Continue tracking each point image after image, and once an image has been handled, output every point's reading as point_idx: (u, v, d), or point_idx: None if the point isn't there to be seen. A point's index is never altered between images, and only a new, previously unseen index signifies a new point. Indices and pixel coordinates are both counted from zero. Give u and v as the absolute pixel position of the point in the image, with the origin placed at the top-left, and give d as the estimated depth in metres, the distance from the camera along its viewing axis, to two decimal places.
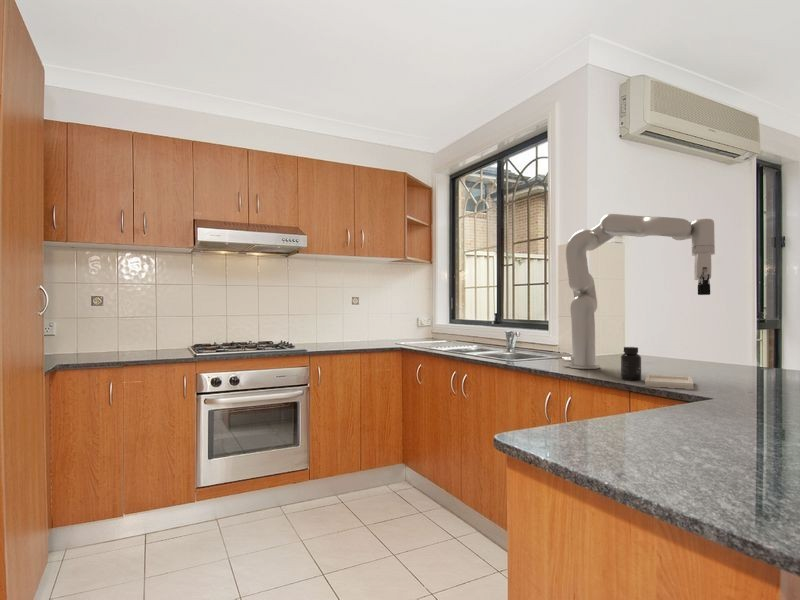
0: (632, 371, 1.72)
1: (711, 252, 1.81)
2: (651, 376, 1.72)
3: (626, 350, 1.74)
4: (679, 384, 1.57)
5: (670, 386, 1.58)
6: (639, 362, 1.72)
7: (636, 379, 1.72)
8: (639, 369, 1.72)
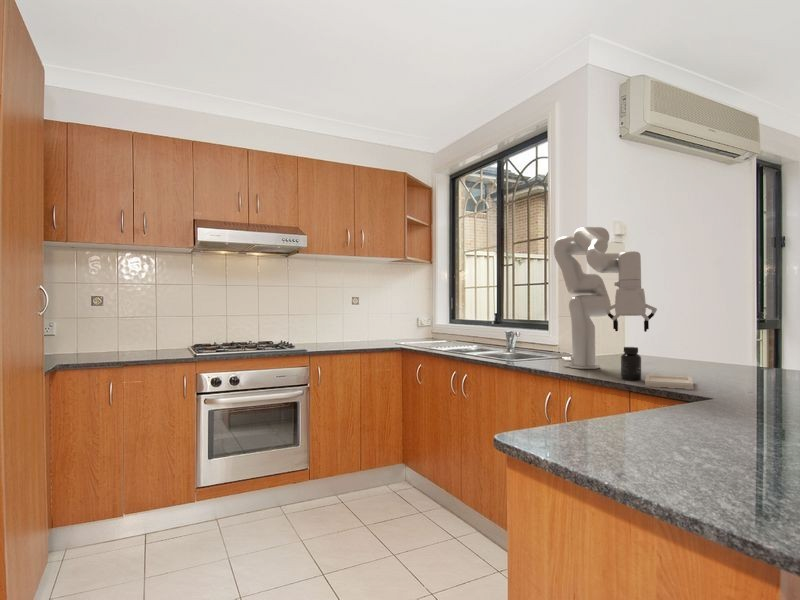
0: (632, 371, 1.72)
1: None
2: (651, 376, 1.72)
3: (626, 350, 1.74)
4: (679, 384, 1.57)
5: (670, 386, 1.58)
6: (639, 362, 1.72)
7: (636, 379, 1.72)
8: (639, 369, 1.72)
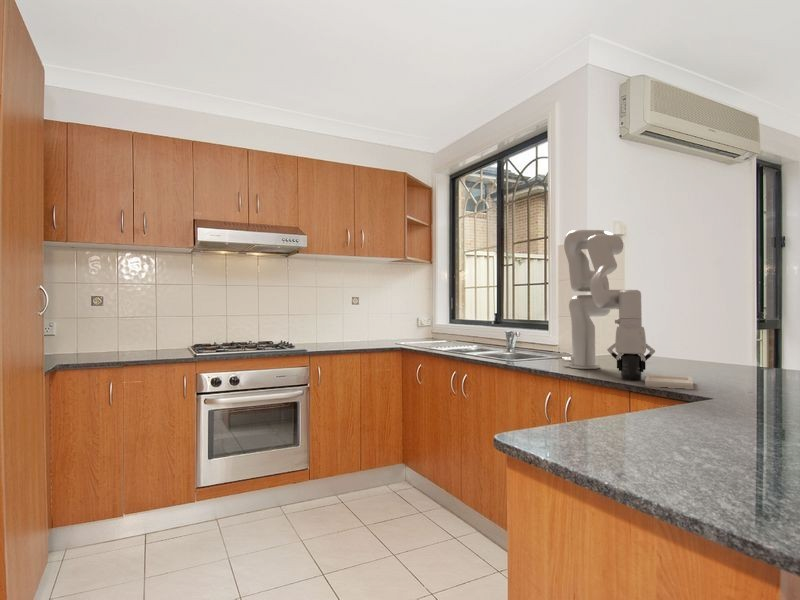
0: (632, 371, 1.72)
1: None
2: (651, 376, 1.72)
3: None
4: (679, 384, 1.57)
5: (670, 386, 1.58)
6: (639, 362, 1.72)
7: (636, 379, 1.72)
8: (639, 369, 1.72)
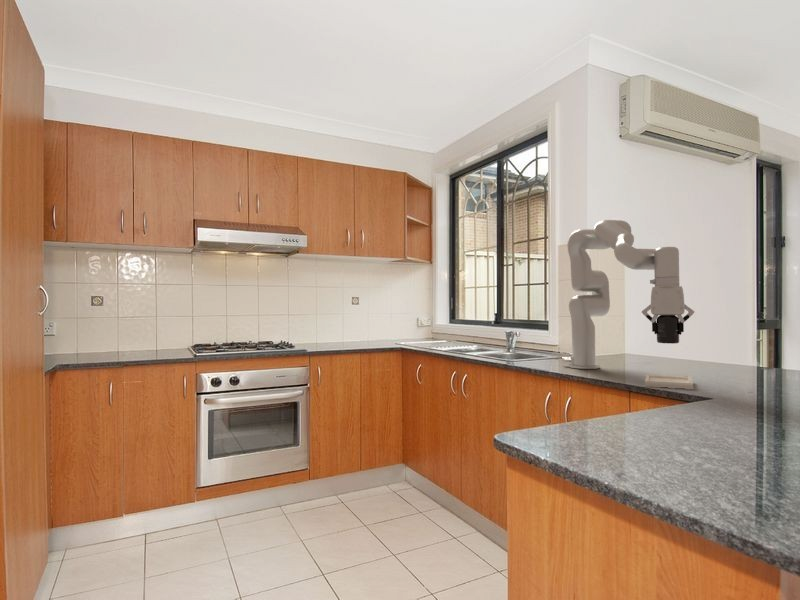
0: (669, 333, 1.61)
1: None
2: (651, 376, 1.72)
3: None
4: (679, 384, 1.57)
5: (670, 386, 1.58)
6: (677, 323, 1.61)
7: (674, 342, 1.61)
8: (677, 331, 1.61)
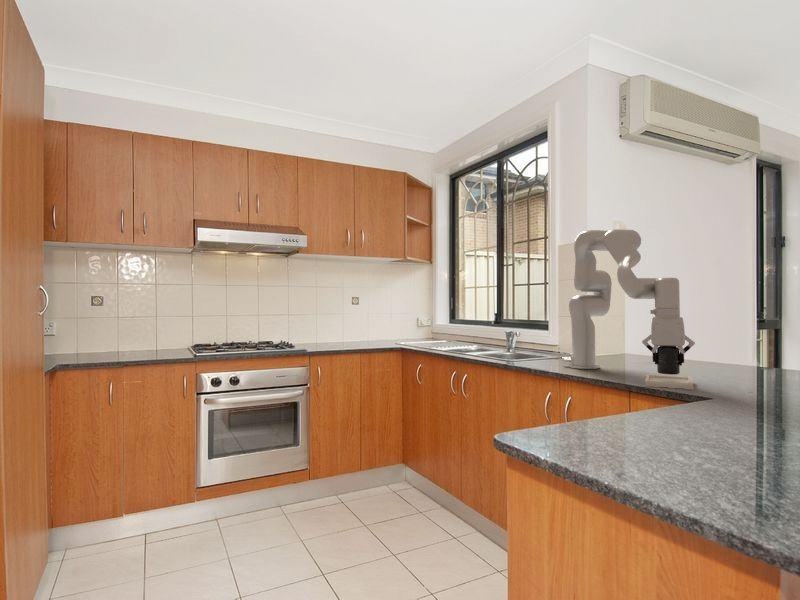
0: (670, 364, 1.61)
1: None
2: (651, 376, 1.72)
3: None
4: (679, 384, 1.57)
5: (670, 386, 1.58)
6: (677, 355, 1.61)
7: (674, 373, 1.61)
8: (678, 362, 1.61)
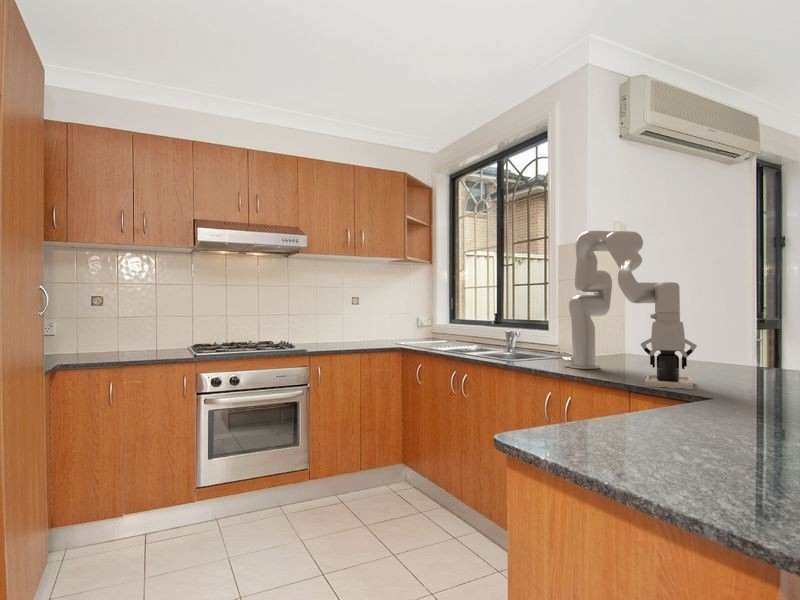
0: (669, 372, 1.61)
1: None
2: (651, 376, 1.72)
3: None
4: (679, 384, 1.57)
5: (670, 386, 1.58)
6: (677, 362, 1.61)
7: (674, 380, 1.61)
8: (677, 370, 1.61)
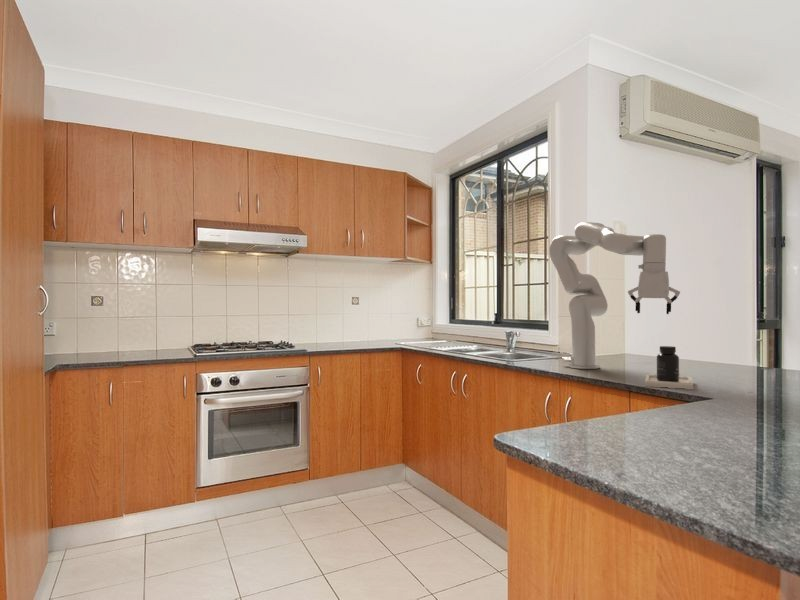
0: (669, 372, 1.61)
1: None
2: (651, 376, 1.72)
3: (663, 350, 1.63)
4: (679, 384, 1.57)
5: (670, 386, 1.58)
6: (677, 362, 1.62)
7: (674, 380, 1.61)
8: (677, 370, 1.62)
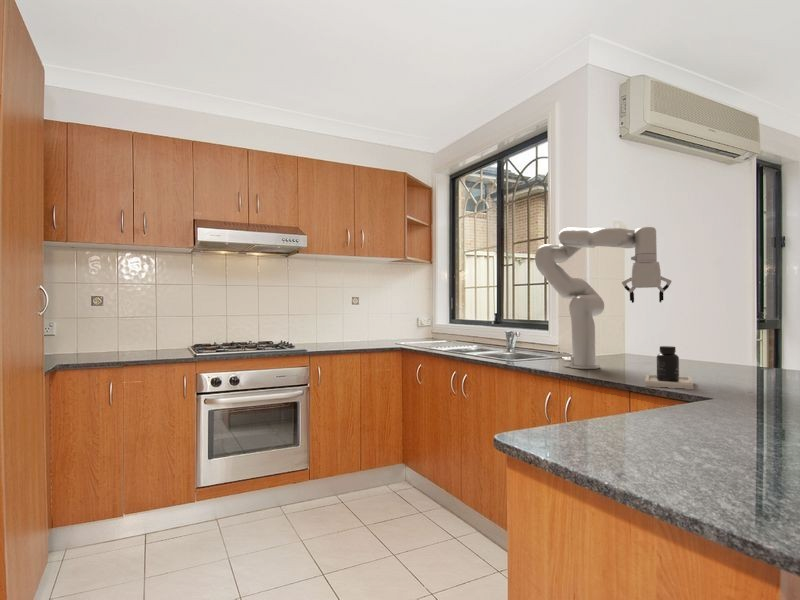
0: (669, 372, 1.61)
1: None
2: (651, 376, 1.72)
3: (663, 350, 1.63)
4: (679, 384, 1.57)
5: (670, 386, 1.58)
6: (677, 362, 1.62)
7: (674, 380, 1.61)
8: (677, 370, 1.62)
